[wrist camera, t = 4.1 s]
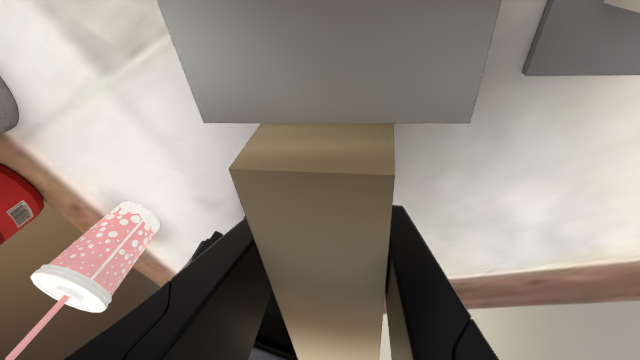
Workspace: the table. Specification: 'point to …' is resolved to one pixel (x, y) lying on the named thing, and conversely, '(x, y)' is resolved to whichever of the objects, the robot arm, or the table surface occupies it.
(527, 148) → the table surface
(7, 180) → the canned food
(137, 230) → the beverage cup
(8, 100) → the pillar candle
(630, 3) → the tile
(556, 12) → the mat
